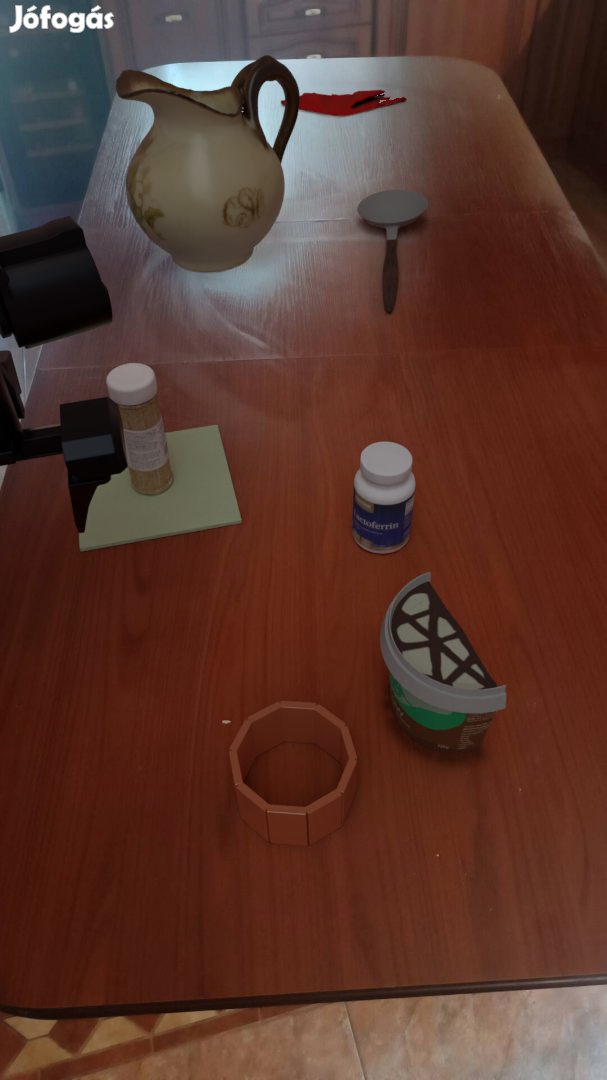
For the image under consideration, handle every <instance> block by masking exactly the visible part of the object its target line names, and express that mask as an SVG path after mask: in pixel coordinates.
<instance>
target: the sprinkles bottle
mask: <svg viewBox="0 0 607 1080" xmlns="http://www.w3.org/2000/svg"><path fill="white" fill-rule="evenodd" d="M105 382H106V387H107V393H108V397H109V398H110V399H111V400H113V401H114V402H116V403H117V404H118V407H119V411H120V415H121V419H122V423H123V431H124V439H125V447H126V455H127V463H128V468H129V472H130V477H131V485H132V487H133V488H134V490H136V491H137V492H139V493H142V494H151V495H152V494H158V493H161V492H163V491H165V490H166V489H168V488H169V487H170V486H171V485H172V482H173V478H174V476H173V473H172V471H171V467H170V462H169V452H168V447H167V441H166V436H165V433H166V432H165V426H164V420H163V415H162V412H161V407H160V403H159V398H158V397H159V396H158V383H157V378H156V374H155V371H154V369H153V368H151V366H149V365H147V364H144V363H139V362H129V363H124V364H122V365H118V366H116V367H115V368H113V369H112V370H110V371H109V372H108V373H107V376H106V379H105Z"/></svg>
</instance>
